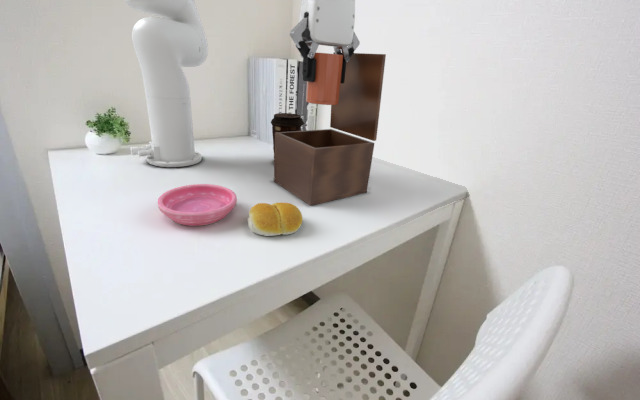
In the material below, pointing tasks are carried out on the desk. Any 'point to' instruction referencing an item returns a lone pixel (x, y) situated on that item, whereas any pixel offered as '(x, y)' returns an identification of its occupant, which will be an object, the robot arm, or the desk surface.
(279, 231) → the bread roll
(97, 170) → the desk surface
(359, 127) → the lid
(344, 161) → the chest
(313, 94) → the tumbler
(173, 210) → the saucer
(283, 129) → the coffee cup
